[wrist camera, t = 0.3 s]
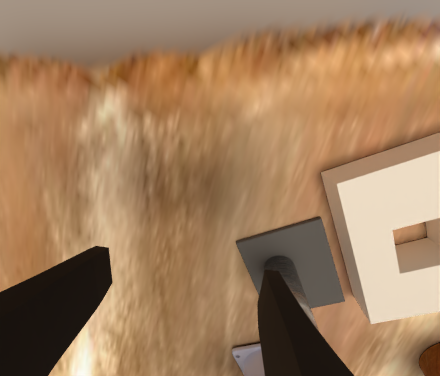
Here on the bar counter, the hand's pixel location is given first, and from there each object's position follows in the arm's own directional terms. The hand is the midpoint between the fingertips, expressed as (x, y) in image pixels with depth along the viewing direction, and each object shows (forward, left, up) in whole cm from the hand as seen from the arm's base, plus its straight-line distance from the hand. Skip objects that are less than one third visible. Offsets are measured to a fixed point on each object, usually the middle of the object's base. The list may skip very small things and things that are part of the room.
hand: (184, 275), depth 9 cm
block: (-8, -14, -10) cm, 19 cm away
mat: (-10, -4, -10) cm, 15 cm away
